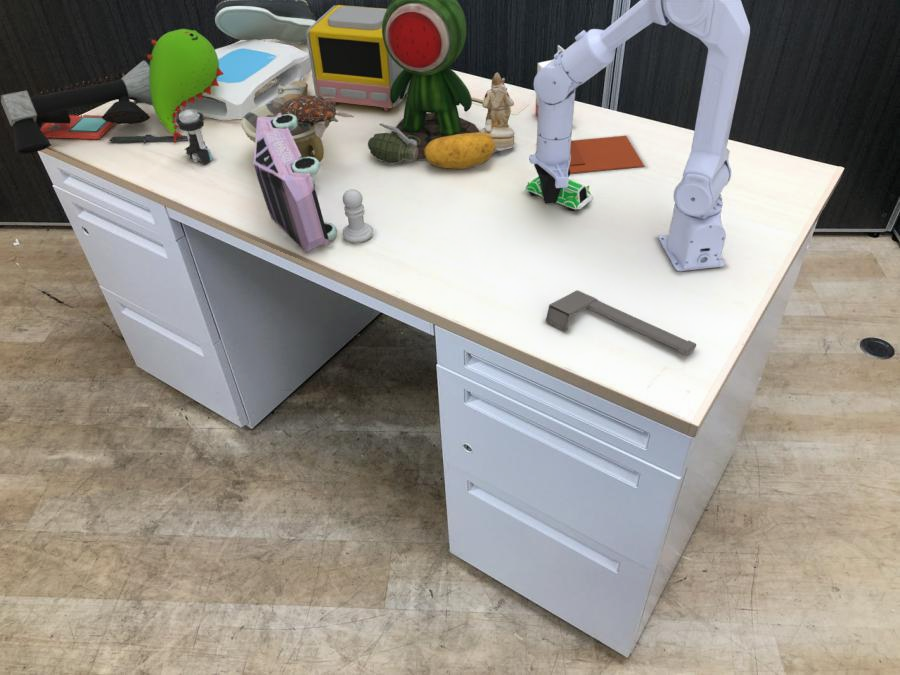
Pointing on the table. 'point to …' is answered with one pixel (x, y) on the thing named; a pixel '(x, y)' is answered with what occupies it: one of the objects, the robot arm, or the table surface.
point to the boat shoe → (265, 19)
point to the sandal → (292, 90)
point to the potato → (460, 150)
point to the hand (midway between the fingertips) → (549, 201)
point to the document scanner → (250, 77)
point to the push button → (194, 135)
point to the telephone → (76, 106)
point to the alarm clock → (352, 57)
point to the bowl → (301, 136)
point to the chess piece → (355, 218)
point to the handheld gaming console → (78, 127)
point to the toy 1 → (180, 73)
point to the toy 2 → (309, 111)
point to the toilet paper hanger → (579, 301)
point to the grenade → (393, 146)
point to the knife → (145, 138)
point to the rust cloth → (603, 155)
